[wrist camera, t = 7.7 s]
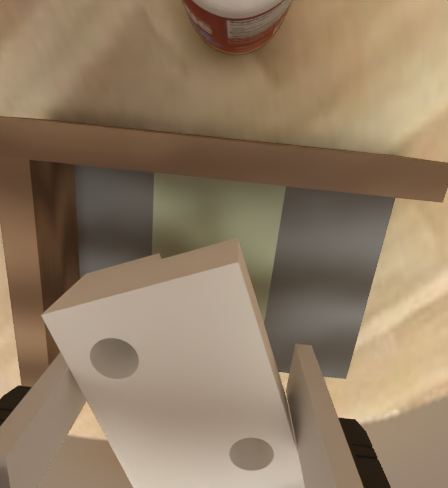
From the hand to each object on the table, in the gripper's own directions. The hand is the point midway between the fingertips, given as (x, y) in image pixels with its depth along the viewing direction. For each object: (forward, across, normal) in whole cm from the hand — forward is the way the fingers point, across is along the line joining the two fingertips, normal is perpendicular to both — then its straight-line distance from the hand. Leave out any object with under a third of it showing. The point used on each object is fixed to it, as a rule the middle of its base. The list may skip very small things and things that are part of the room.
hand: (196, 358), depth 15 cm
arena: (+11, 0, -1) cm, 11 cm away
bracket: (+1, 0, +1) cm, 1 cm away
